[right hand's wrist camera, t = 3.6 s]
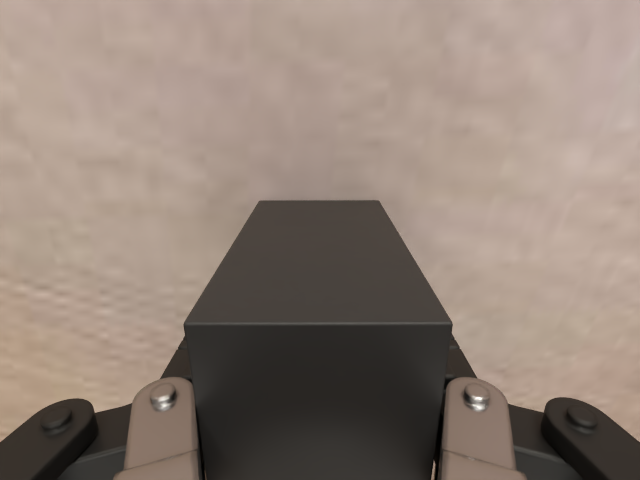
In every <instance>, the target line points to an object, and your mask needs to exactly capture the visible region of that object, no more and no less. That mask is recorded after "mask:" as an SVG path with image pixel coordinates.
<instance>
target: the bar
mask: <svg viewBox="0 0 640 480" xmlns="http://www.w3.org/2000/svg"><path fill="white" fill-rule="evenodd" d="M452 325H453V324H452V321H451V320H450V318H449V316H448V315H447V313H446V311H445V310H444V308H443V306H442V305H441V303H440V301H439V300H438V298H437V296H436V295H435V293H434V291H433V290H432V288H431V286H430V285H429V283H428V281H427V280H426V278H425V277H424V275H423V273H422V272H421V270H420V268H419V267H418V265H417V263H416V262H415V260H414V258H413V257H412V255H411V253H410V252H409V250H408V248H407V247H406V245H405V243H404V242H403V240H402V238H401V237H400V235H399V233H398V232H397V230H396V228H395V227H394V225H393V223H392V222H391V220H390V218H389V217H388V215H387V213H386V212H385V210H384V208H383V207H382V205H381V203H380V202H379V201H259V202H258V204H257V206H256V207H255V209H254V210H253V212H252V214H251V215H250V217H249V219H248V220H247V222H246V223H245V225H244V227H243V228H242V230H241V231H240V233H239V235H238V236H237V238H236V240H235V241H234V243H233V244H232V246H231V248H230V249H229V251H228V253H227V254H226V256H225V257H224V259H223V261H222V262H221V264H220V265H219V267H218V269H217V270H216V272H215V274H214V275H213V277H212V278H211V280H210V282H209V283H208V285H207V286H206V288H205V290H204V291H203V293H202V295H201V296H200V298H199V299H198V301H197V303H196V304H195V306H194V308H193V309H192V311H191V312H190V314H189V316H188V317H187V319H186V320H185V322H184V331H185V338H186V344H187V351H188V358H189V365H190V372H191V378H192V385H193V392H194V399H195V406H196V412H197V419H198V426H199V433H200V440H201V446H202V453H203V460H204V467H205V474H206V480H431V475H432V468H433V461H434V454H435V447H436V440H437V432H438V425H439V418H440V411H441V404H442V397H443V390H444V383H445V375H446V368H447V361H448V354H449V347H450V340H451V333H452Z"/></svg>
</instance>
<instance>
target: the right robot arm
mask: <svg viewBox="0 0 640 480" xmlns="http://www.w3.org/2000/svg"><path fill="white" fill-rule="evenodd" d="M434 461H435V470H434V480H640V442H639V441H637V440H636V439H635V438H634V437H633V436H631V435H630V434H629V433H628V432H626V431H625V430H624V429H623V428H622V427H620V426H619V425H618V424H617V423H615V422H614V421H613V420H612V419H611V418H609V417H608V416H607V415H606V414H604V413H603V412H602V411H600V410H599V409H597V408H595V407H593V406H592V405H590V404H587V403H585V402H583V401H579V400H576V399H572V398H564V397H560V398H554V399H551V400H550V401H548V402H547V404H546V406H545V410H544V413H543V412H538V411H534V410H530V409H526V408H521V407H517V406H514V405H510V404H508V402H507V400H506V398H505V396H504V395H503V393H502V392H501V391H500V390H499V389H497V388H496V387H495V386H493V385H492V384H490V383H488V382H486V381H483V380H481V379H477V377H476V375H475V373H474V372H473V370H472V368H471V366H470V365H469V363H468V361H467V359H466V358H465V356H464V354H463V352H462V351H461V349H460V348H459V345H458V344H457V342H456V340H454V337H453V335H452V333H451V340H450V347H449V354H448V361H447V368H446V375H445V383H444V390H443V397H442V404H441V411H440V418H439V425H438V432H437V440H436V447H435V454H434ZM0 480H206V474H205V467H204V460H203V453H202V446H201V440H200V433H199V426H198V419H197V412H196V406H195V399H194V392H193V385H192V378H191V372H190V365H189V358H188V351H187V344H186V338H185V337H184V338H183V341H182V342H181V344H180V345H179V347H178V350H176V352H175V354H174V356H173V357H172V359H171V361H170V363H169V364H168V366H167V368H166V369H165V371H164V373H163V375H162V376H161V378H160V379H159V380H157V381H154V382H152V383H150V384H148V385H147V386H145V387H144V388H143V389H141V390H140V391H139V392H138V393H137V395H136V396H135V398H134V400H133V402H132V403H131V404H128V405H126V406H122V407H118V408H114V409H110V410H106V411H102V412H97V413H95V412H94V409H93V406H92V404H91V403H90V402H89V401H87V400H84V399H67V400H63V401H60V402H57V403H54V404H52V405H49V406H47V407H45V408H44V409H42V410H40V411H39V412H37V413H36V414H34V415H33V416H32V417H31V418H29V419H28V420H27V421H26V422H25V423H23V424H22V425H21V426H20V427H18V428H17V429H16V430H15V431H14V432H12V433H11V434H10V435H9V436H7V437H6V438H5V439H4V440H3V441H1V442H0Z"/></svg>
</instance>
